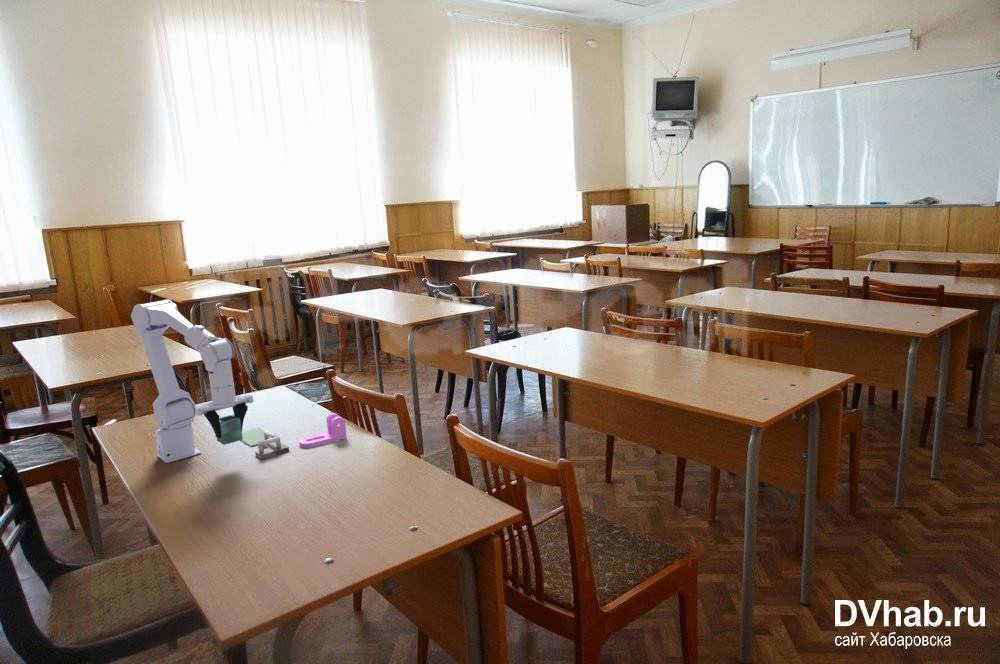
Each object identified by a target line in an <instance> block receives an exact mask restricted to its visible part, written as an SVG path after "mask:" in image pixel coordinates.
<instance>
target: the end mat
mask: <svg viewBox="0 0 1000 664" xmlns="http://www.w3.org/2000/svg"><path fill="white" fill-rule="evenodd" d="M264 431H265V430H264V429H262V428H260V427H255V428H253V429H252V428H251V429H248V430H244V431H242V437H243V440H240V441H241V442H242V443H244V444H246V445H248V446H249V447H250V448H252V447H256V446H258V444H259V443H258V441H262V440H265V438H264ZM269 438H271V437H269Z"/></svg>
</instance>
